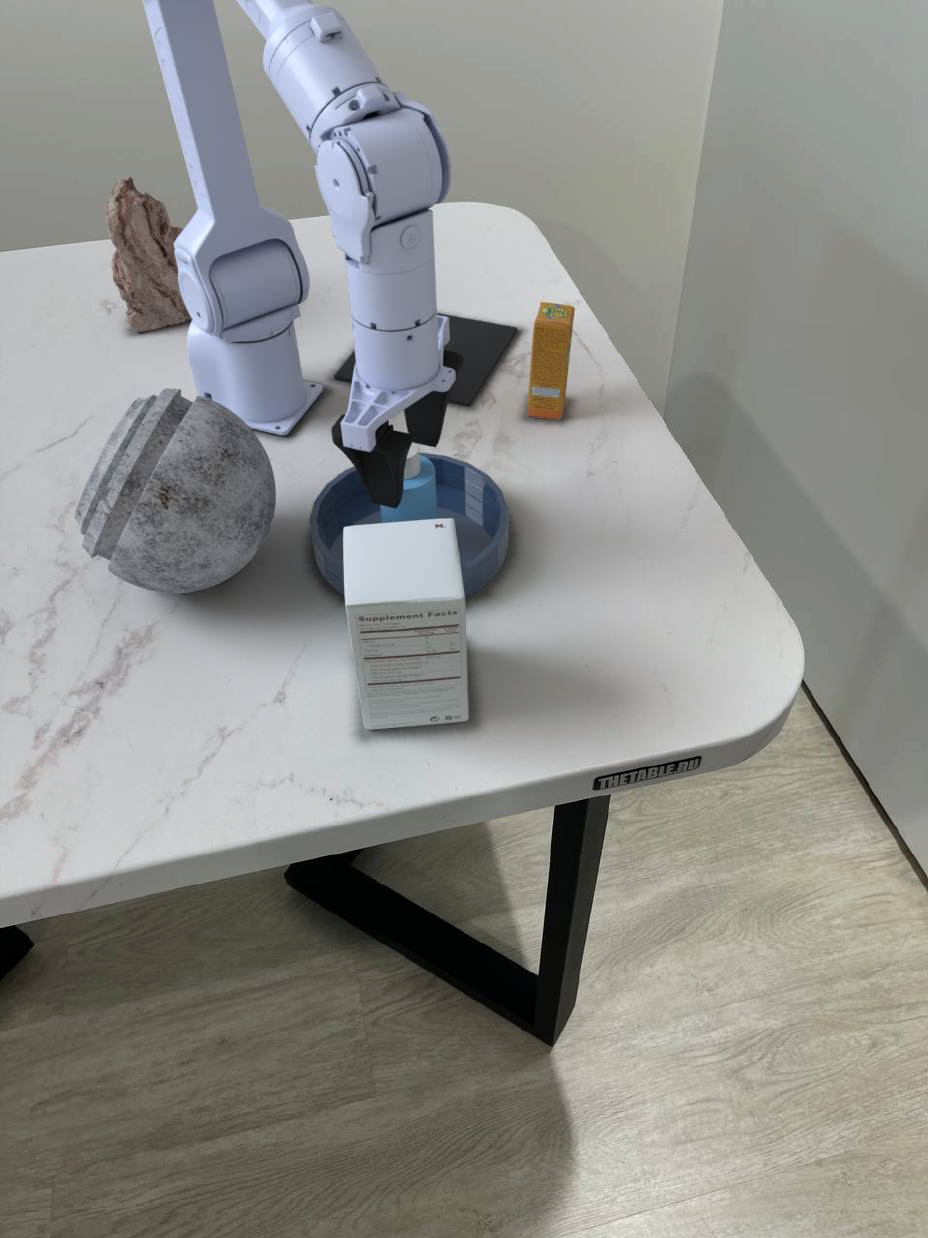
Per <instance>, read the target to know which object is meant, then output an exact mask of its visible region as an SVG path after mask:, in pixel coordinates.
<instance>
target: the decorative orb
mask: <svg viewBox="0 0 928 1238" xmlns="http://www.w3.org/2000/svg"><path fill="white" fill-rule="evenodd" d="M276 487H277V486H276V479H275V473H274V470H273V467H272V464H271V460H270V457H269V455H268V453H267V451H266V449H265V446H264V445H263V443H262V442H261V440H260V439H259V437H258V436H257V434H256V433H255V432H254V431H253V429H251V428H250V427H249V426H248V425H247V424H246V423H245V422H244V421H243V420H242V419H241V418H239V417H238V416H237V415H236V414H235V413H233V412H232V411H230V410H229V409H228V408H226V407H224V406H223V405H221V404H219V403H217V402H215V401H213V400H211V399H208V398H205V397H202V396H198V395H197V397H196V398H195V400H193V401H192V400H190V399H188V398H185V397H184V396H182V389H181V388H169V387H168V388H167V387H165V388H164V389H163V390H162V391H161V392H160V393H159V395H158V396H157V395H155V394H152V395H150V396H147V397H144V398H142V397H137V398H136V399H134V400H133V402H132V403H131V404H130V406H129V407H128V409H127V410H126V411H125V413H124V414H123V416H122V417H121V419H120V420H119V421H118V423H117V424H116V426H115V427H114V429H113V430H112V431H111V432H110V435H109V436H108V438H107V439H106V441H105V443H104V444H103V446H102V447H101V449H100V451H99V453H98V455H97V457H96V459H95V461H94V463H93V466H92V468H91V470H90V472H89V474H88V477H87V479H86V482H85V484H84V487H83V490H82V492H81V495H80V498H79V500H78V503H77V506H76V509H75V512H74V517H73V518H74V520H75V521H76V522H77V523H78V526H79V529H80V530H79V531H80V534H81V535H83V536H84V537H83V541H82V548H83V549H84V550H85V552H86V553H87V555H89V557H90V558H91V559H93V558H95V557H97V556H99V557H101V558H102V559H105V560H107V561H109V563H108V565H107V570H108V571H109V573H111V574H113V575H114V576H115V577H117V578H119V579H121V580H123V581H124V582H126V583H128V584H131V585H133V586H136V587H138V588H141V589H144V590H147V591H152V592H155V593H156V592H158V593H165V594H185V593H193V592H198V591H203V590H206V589H209V588H213V587H215V586H216V585H219V584H221V583H223V582H225V581H227V580H228V579H230V578H232V577H233V576H235V575H236V574H238V573H239V572H241V570H242V569H244V567H246V566H247V565H248V564H249V563H250V562H251V561H252V560H253V558H255V556H256V555H257V554H258V552H259V550H260V549H261V548H262V546H263V545H264V542H265V541H266V539H267V537H268V534H269V532H270V530H271V526H272V524H273V520H274V516H275V511H276V502H277V488H276Z"/></svg>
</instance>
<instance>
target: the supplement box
mask: <svg viewBox="0 0 928 1238" xmlns="http://www.w3.org/2000/svg"><path fill="white" fill-rule="evenodd" d="M575 310H576V309H575V306H573V305H567V304H562V303H555V302H547V301H546V302H545V301H540V303H539V308H538V311H537V315H536V317H535V319H534V322H533V331H532V342H531V343H532V344H531V353H530V366H529V381H528V383H529V384H528V395H527V411H526V412H527V414H526V415H527V416H528V417H530V418H536V419H545V420H553V421H554V420H556V421H560V420H561V419H562V416H563V412H564V408H565V403H566V397H567V396H566V394H567V387H568V385H567V384H568V377H569V376H568V375H569V366H570V357H571V347H572V339H573V329H574V319H575V312H576V311H575Z"/></svg>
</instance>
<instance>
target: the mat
mask: <svg viewBox="0 0 928 1238" xmlns="http://www.w3.org/2000/svg"><path fill="white" fill-rule="evenodd" d="M437 315H439V316H445V317H449V333H450V340H449V342H448V343H447V344H446V345H445V346H444V350H448V351H453V352H457V353H459V354H461V355H462V356H463V358H464V365H463V367H462V369H461V370H460V372H459V374H458V376H457V378H456V380H455V383H454V385H453V388H452V391H451V394H450V397H449V400H448V404H449V403H450V404H454V405H460V406H464V407H471V405H472V404H473V402H474V401H475V399H476V397H477V396H478V394H479V393H480V391H481V389H482V388H483V386H484V384H485V383H486V381H487V380H488V378H489V377H490V375H491V373H492V372H493V370H494V369H495V367H496V365H497V364H498V362H499V361H500V359H501V357H502V356H503V355H504V353H505V351H506V349H507V348H508V346H509V345H510V343H511V342H512V340H513V339H514V337H515V335H516V333H517V332H518V327H516V326H511V325H507V324H506V325H505V324H502V323H501V324H500V323H495V322H489V321H483V320H479V319H473V318H466V317H462V316H456V315H451V314H444V313H440V312H437ZM355 363H356V358H355V349H354V350H353V351H352V353H351V354H350V355H349V356H348V357H347V358H346V360H345V361H344V363H343V364H342V365H341V366H340V368H339V369H338V370H336V372H335V374H334V375H333V378H334V379H333V380H338V381H342V382H347V383H352V379H353V372H354V367H355Z"/></svg>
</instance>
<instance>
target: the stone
mask: <svg viewBox="0 0 928 1238" xmlns="http://www.w3.org/2000/svg"><path fill="white" fill-rule="evenodd" d="M104 208H105V209H104V219H105V223H106V230H107V233H108V236H109V239H110V241H111V243H112V245H113V246H114V248H115V252H114V253H113V255H112V259H111V262H110V268H111V270H112V280H113V281H112V282H113V283H114V285H115V286H116V287H117V289H118V293H119V296H120V299H121V300H122V301H124V302H125V303H126V304H125V305H126V307H127V311H126V313H125V314H126V317H127V319H128V321H129V328H130V329H132V330H133V332H134V333H143V332H149V331H153V330H154V331H155V330H158V329H162V328H165V327H167V326H171V327H172V326H174V325H180V324H182V323H186V322H189V321H192V320H193V319H192V318H191V316H190V314H189V312H188V310H187V308H186V306H185V303H184V301H183V298H182V295H181V292H180V288H179V283H178V267H177V261H176V257H175V253H174V251H175V248H174V242H175V240H176V239H177V237H178V236H179V235H180V233H181V232H182V231H183V229H184V228H181V227H179V226H172V225H171V219H170V217H169V213H168V211H167V208H166V206H165V204H164V202H163V200H159V199H156V198H154V197H153V196H152V195H151V194H150V193H149V192H147V191H145V193H144V194H143V193H142V192H140V191H138V190H137V188H136V186H135V184H134V179H133V178H132V177H131V176H128V177H127V178H126V179H123V178H122V179H117V180H116V181H115V183H114V186H113V187H112V189H111V192H110V194H109V196H108V200H107V202H106V203H105V204H104Z"/></svg>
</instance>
